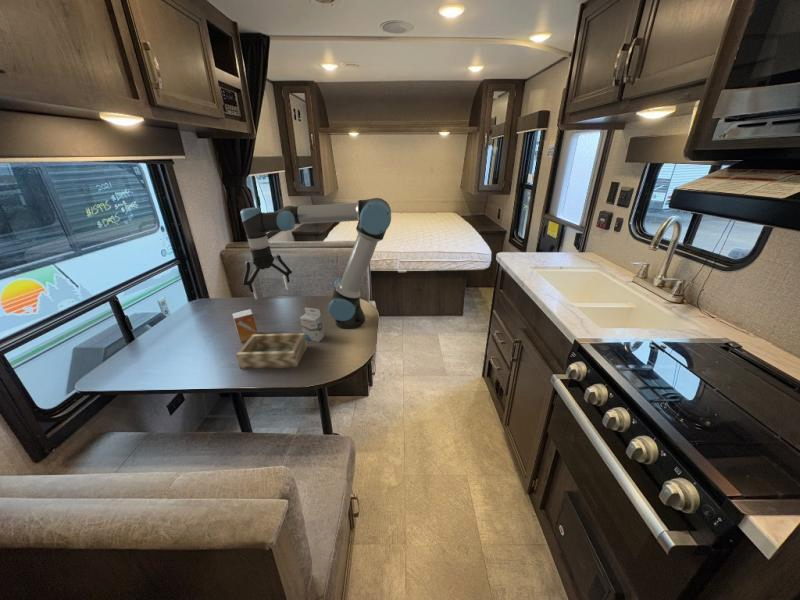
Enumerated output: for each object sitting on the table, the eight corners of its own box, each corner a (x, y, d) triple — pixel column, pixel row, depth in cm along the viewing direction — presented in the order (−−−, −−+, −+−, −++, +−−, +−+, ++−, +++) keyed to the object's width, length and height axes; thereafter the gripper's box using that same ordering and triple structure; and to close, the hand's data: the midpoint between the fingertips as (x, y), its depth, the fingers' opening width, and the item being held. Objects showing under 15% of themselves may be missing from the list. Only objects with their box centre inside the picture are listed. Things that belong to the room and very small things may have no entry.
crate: (307, 346, 138) (304, 333, 135) (296, 367, 124) (293, 353, 121) (256, 347, 138) (252, 334, 135) (240, 368, 125) (235, 354, 122)
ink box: (303, 339, 143) (297, 311, 137) (309, 334, 148) (304, 306, 141) (319, 342, 141) (314, 314, 134) (324, 336, 145) (320, 309, 139)
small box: (241, 343, 142) (233, 318, 137) (238, 337, 147) (231, 313, 141) (259, 337, 146) (252, 313, 141) (256, 332, 151) (250, 308, 145)
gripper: (287, 239, 135) (297, 283, 144) (225, 251, 123) (240, 299, 132) (292, 242, 130) (302, 288, 139) (228, 255, 117) (243, 304, 126)
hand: (272, 293), depth 135 cm, fingers open, 13 cm apart
